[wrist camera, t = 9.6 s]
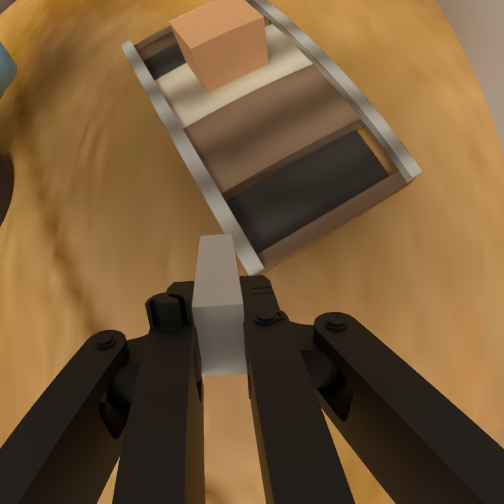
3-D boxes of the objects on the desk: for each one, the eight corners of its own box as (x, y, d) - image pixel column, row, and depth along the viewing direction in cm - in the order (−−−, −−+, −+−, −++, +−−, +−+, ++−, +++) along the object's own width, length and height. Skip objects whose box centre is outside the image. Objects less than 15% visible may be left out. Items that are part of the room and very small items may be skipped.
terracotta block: (187, 64, 35) (168, 21, 27) (243, 37, 35) (235, -8, 27) (207, 93, 34) (190, 49, 26) (268, 64, 34) (263, 16, 26)
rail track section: (132, 63, 39) (120, 44, 35) (250, 5, 39) (247, -16, 35) (253, 278, 33) (248, 275, 29) (407, 185, 33) (422, 171, 29)
